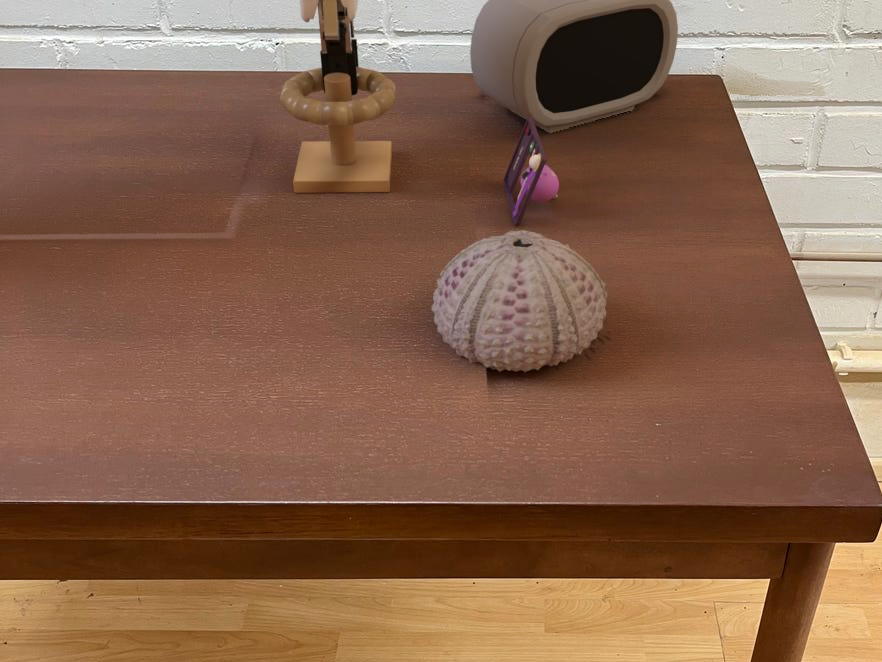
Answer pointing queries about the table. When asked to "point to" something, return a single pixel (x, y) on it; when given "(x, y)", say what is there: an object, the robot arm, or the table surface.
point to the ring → (338, 111)
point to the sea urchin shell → (519, 302)
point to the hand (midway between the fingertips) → (342, 86)
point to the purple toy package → (529, 173)
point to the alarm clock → (572, 56)
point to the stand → (342, 155)
